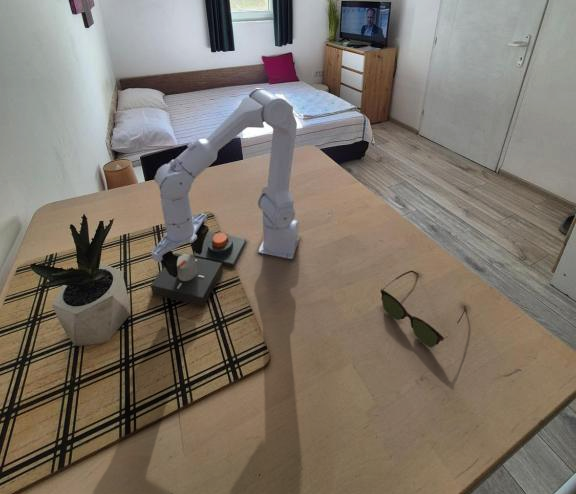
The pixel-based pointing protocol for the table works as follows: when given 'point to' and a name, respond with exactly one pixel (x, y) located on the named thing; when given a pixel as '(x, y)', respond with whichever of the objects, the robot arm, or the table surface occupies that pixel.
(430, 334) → the sunglasses
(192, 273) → the timer dial
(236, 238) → the button block
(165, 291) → the dial panel
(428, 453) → the table surface
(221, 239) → the button
